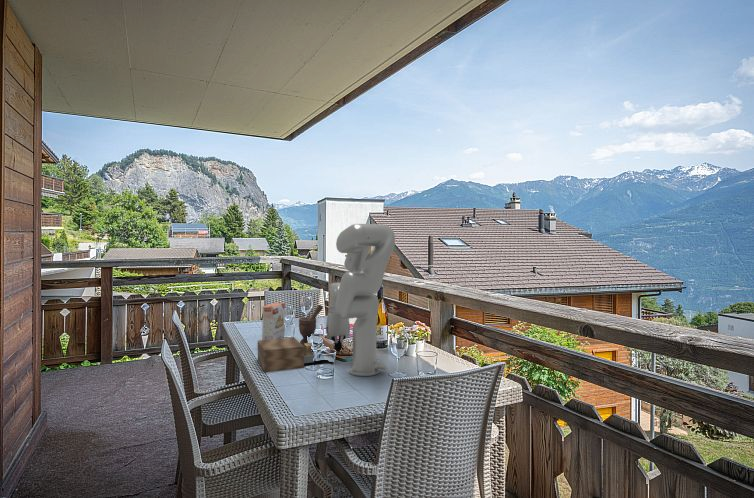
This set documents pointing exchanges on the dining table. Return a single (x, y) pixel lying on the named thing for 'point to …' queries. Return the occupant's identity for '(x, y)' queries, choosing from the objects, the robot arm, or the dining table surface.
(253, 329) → the dining table surface
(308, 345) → the block
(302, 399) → the dining table surface
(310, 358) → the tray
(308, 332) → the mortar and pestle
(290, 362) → the brown box
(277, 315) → the cracker box
